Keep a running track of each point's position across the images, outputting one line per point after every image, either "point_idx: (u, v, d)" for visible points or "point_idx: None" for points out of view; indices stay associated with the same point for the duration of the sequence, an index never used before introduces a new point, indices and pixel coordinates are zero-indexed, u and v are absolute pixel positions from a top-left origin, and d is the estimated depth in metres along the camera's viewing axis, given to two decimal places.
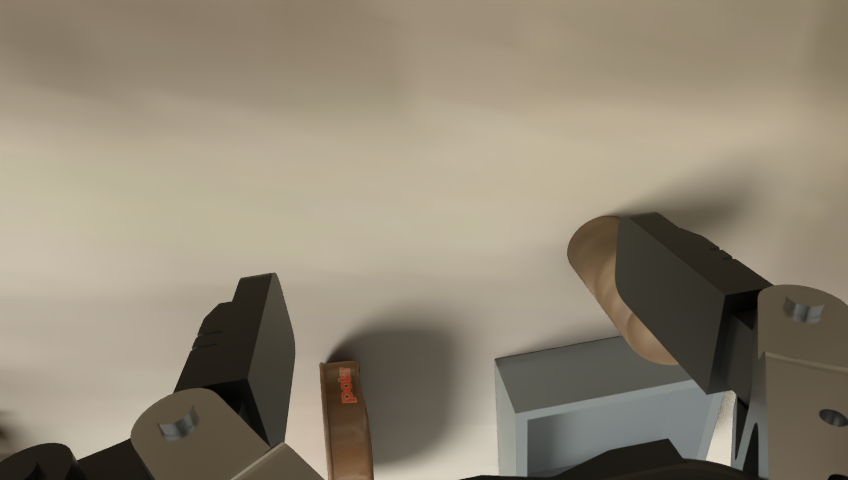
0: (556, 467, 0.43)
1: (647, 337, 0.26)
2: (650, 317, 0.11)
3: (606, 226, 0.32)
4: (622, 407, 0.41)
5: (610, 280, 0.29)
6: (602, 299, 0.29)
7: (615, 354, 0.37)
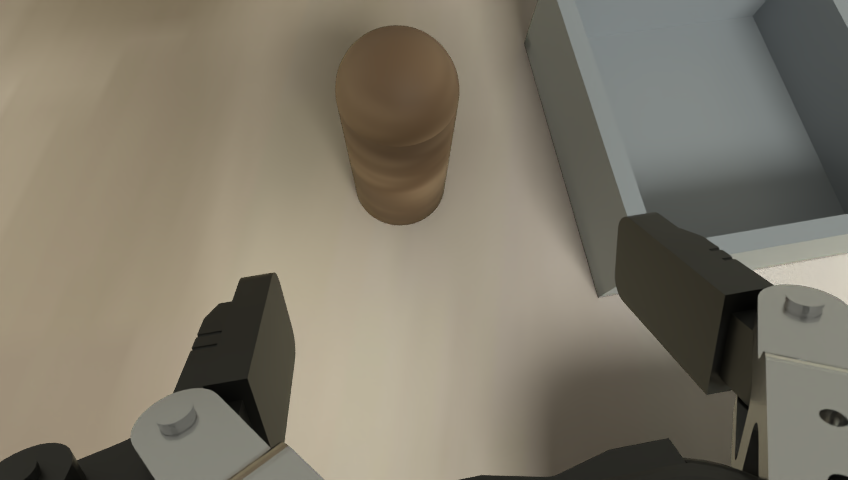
0: (817, 160, 0.26)
1: (393, 115, 0.17)
2: (650, 317, 0.11)
3: (355, 185, 0.25)
4: (673, 88, 0.27)
5: (376, 175, 0.20)
6: (409, 178, 0.20)
7: (562, 125, 0.25)
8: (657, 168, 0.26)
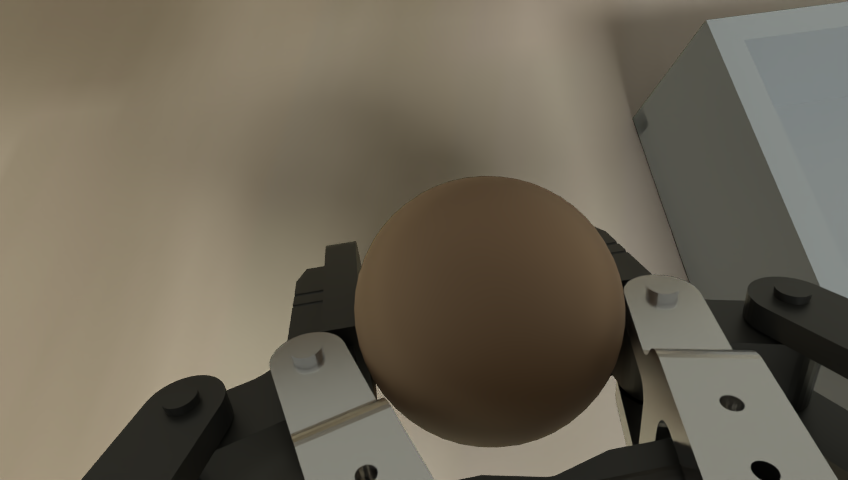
0: None
1: (496, 418, 0.07)
2: None
3: None
4: None
5: None
6: None
7: (717, 269, 0.16)
8: None
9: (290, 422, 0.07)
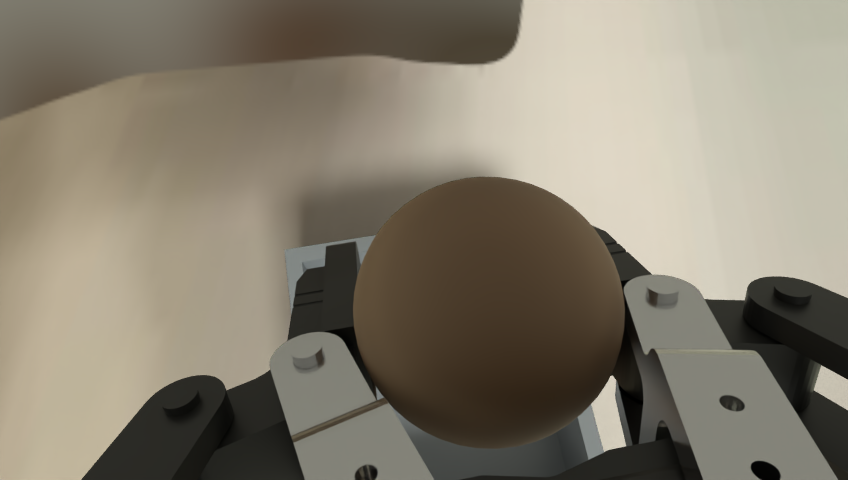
0: None
1: (495, 419, 0.07)
2: None
3: None
4: None
5: None
6: None
7: None
8: (398, 413, 0.28)
9: (290, 422, 0.07)
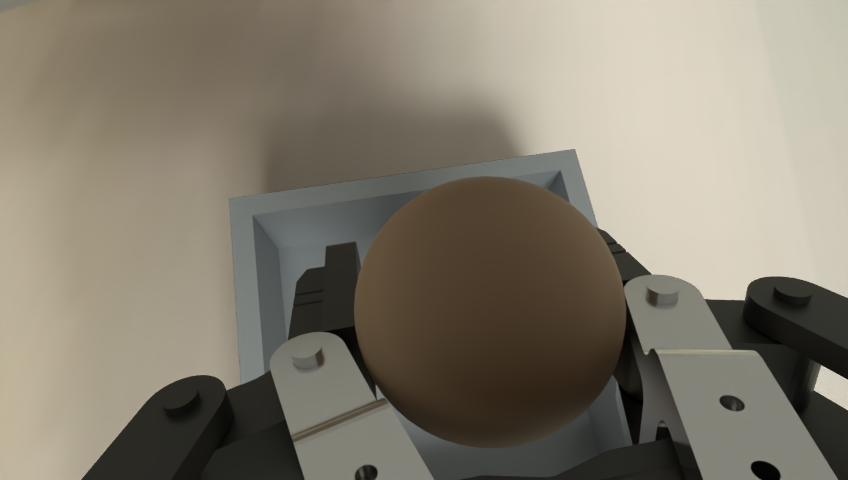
0: None
1: (496, 419, 0.07)
2: None
3: None
4: None
5: None
6: None
7: None
8: None
9: (290, 422, 0.07)
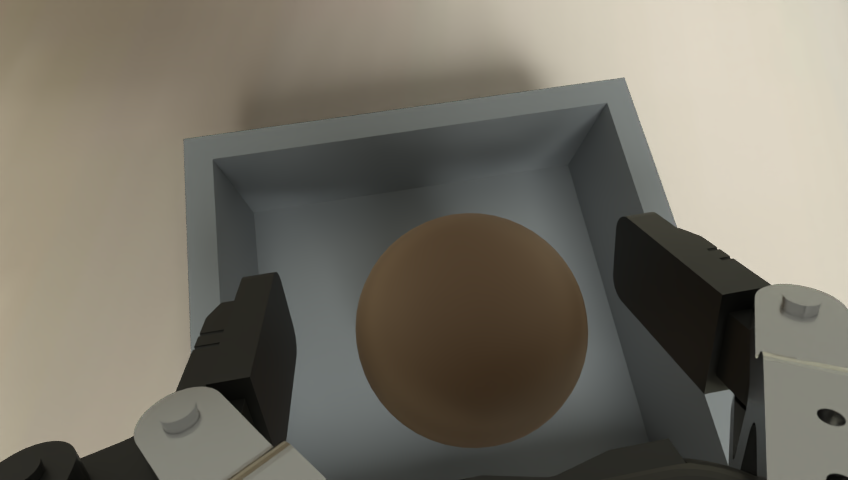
0: (635, 409, 0.17)
1: (473, 423, 0.08)
2: (648, 317, 0.11)
3: None
4: None
5: None
6: None
7: None
8: (385, 426, 0.17)
9: None
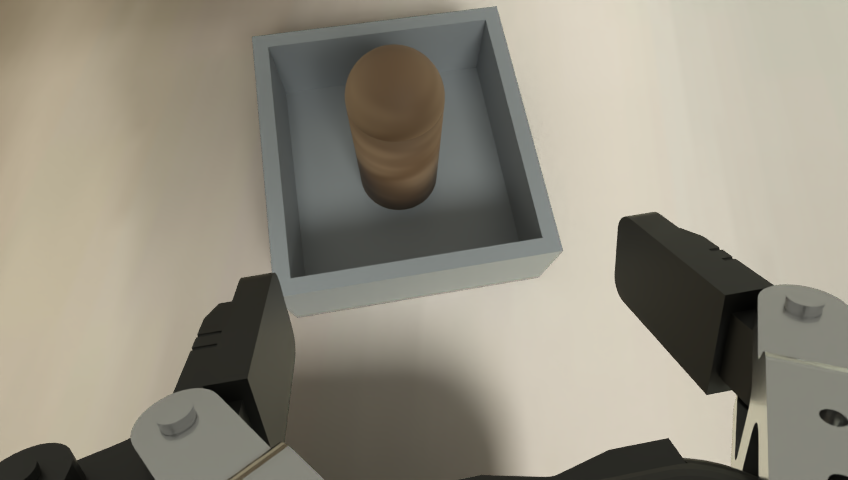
0: (505, 198, 0.30)
1: (390, 116, 0.21)
2: (650, 317, 0.11)
3: (360, 175, 0.29)
4: None
5: (377, 166, 0.25)
6: (404, 168, 0.25)
7: None
8: (362, 205, 0.30)
9: None
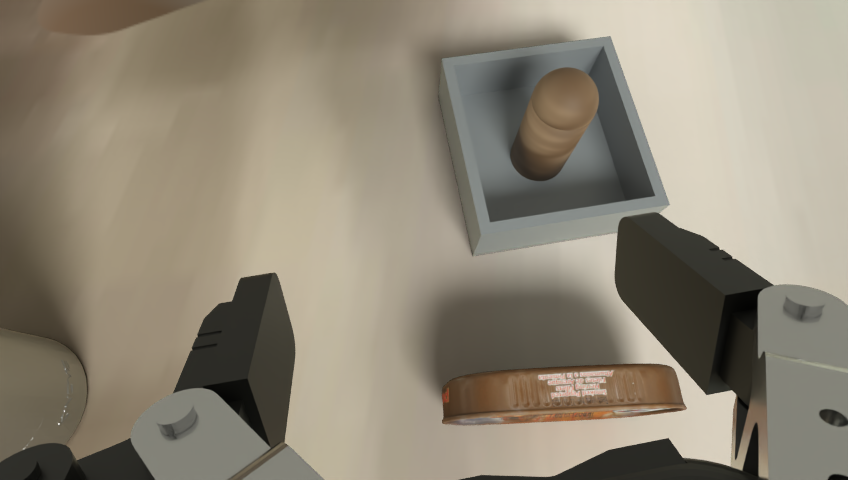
0: (615, 172, 0.42)
1: (570, 114, 0.33)
2: (650, 317, 0.11)
3: (514, 156, 0.41)
4: None
5: (543, 147, 0.37)
6: (562, 149, 0.37)
7: (453, 151, 0.41)
8: (513, 178, 0.42)
9: None
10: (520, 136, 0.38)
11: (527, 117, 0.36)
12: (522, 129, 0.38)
